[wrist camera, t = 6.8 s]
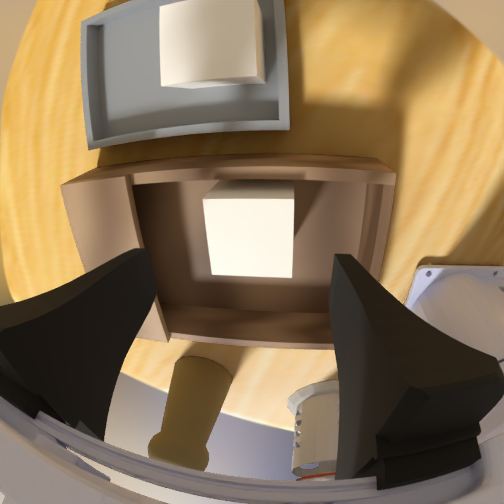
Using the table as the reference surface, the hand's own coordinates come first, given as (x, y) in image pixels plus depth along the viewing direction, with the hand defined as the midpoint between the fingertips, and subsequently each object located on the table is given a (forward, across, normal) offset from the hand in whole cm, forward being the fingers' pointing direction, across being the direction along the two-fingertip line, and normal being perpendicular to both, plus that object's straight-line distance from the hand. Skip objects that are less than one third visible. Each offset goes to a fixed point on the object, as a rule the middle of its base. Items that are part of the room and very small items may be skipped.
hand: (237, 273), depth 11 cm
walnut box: (+7, +2, +3) cm, 8 cm away
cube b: (+7, 0, 0) cm, 7 cm away
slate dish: (+7, +4, -9) cm, 12 cm away
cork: (+7, +6, +18) cm, 20 cm away
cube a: (+7, +1, -9) cm, 11 cm away
